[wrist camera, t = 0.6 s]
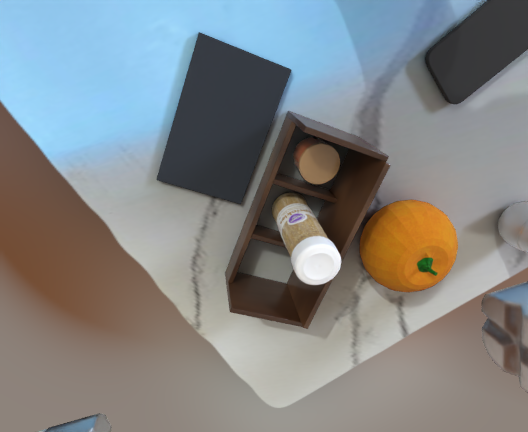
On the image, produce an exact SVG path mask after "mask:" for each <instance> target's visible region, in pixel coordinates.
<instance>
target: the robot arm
mask: <svg viewBox="0 0 528 432" xmlns="http://www.w3.org/2000/svg"><path fill="white" fill-rule="evenodd" d="M482 312H483V313H484V314H485V315H486V316H487V317H488V319H487V321H486V322H485V324H484V326H483V327H482V338H483V343H484V346H485V348H486V350H487V353H488V354H489V356H490V357H491V358H492V360H493V361H494V363H495V364H497V365H498V366H499V367H500V368H501V369H502V370H503V371H505V372H507V373H510V374H513V375H516V376H518V377H519V381H520V386H521V387H522V388H523V389H524V390H525V391H526V392H527V393H528V281H527V282H525V283H521V284H518V285H515V286H512V287H508V288H505V289H502V290H499V291H496V292H492V293H490V294H486V295H485V296H484V298H483V300H482ZM38 432H111V425H110V423H109V421H108V419H107V417H106V415H104V414H100V413H99V414H96V415H92V416H89V417H85V418H82V419H78V420H74V421H71V422H67V423H64V424H60V425H57V426H53V427H50V428H48V429H45V430H41V431H38Z"/></svg>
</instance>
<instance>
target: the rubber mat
mask: <svg viewBox="0 0 528 432" xmlns="http://www.w3.org/2000/svg"><path fill="white" fill-rule="evenodd" d="M290 73H291V69H288V68H286V67H283V66H281V65H279V64H276V63H274V62H271V61H269V60H266V59H264V58H261V57H259V56H256V55H254V54H251V53H249V52H246V51H244V50H242V49H239V48H237V47H234V46H232V45H229V44H227V43H224V42H222V41H219V40H217V39H214V38H212V37H210V36H207V35H205V34H202V33H200V32H199V34H198V38H197V41H196V45H195V48H194V52H193V55H192V58H191V62H190V65H189V69H188V72H187V76H186V79H185V83H184V86H183V90H182V93H181V97H180V100H179V104H178V107H177V110H176V114H175V117H174V121H173V124H172V128H171V131H170V135H169V138H168V142H167V145H166V149H165V152H164V156H163V159H162V162H161V166H160V169H159V173H158V176H157V180H159V181H162V182H165V183H169V184H172V185H176V186H179V187H183V188H186V189H190V190H193V191H197V192H200V193H204V194H207V195H211V196H214V197H218V198H221V199H224V200H228V201H231V202H235V203H238V204H241V202H242V199H243V197H244V194H245V192H246V189H247V186H248V184H249V181H250V178H251V176H252V173H253V170H254V168H255V165H256V163H257V160H258V157H259V155H260V152H261V149H262V147H263V144H264V141H265V139H266V136H267V133H268V131H269V128H270V126H271V123H272V120H273V118H274V115H275V112H276V110H277V107H278V104H279V102H280V99H281V96H282V94H283V91H284V89H285V86H286V83H287V81H288V78H289V75H290Z"/></svg>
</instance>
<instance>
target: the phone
mask: <svg viewBox="0 0 528 432" xmlns="http://www.w3.org/2000/svg"><path fill="white" fill-rule="evenodd" d="M527 49H528V0H488V1H487V2H486V3H484V4H483V5H482V6H481V7H480V8H478V9H477V10H476V11H475V12H474V13H472V14H471V15H470V16H469V17H468V18H466V19H465V20H464V21H463V22H462V23H460V24H459V25H458V26H457V27H456V28H454V29H453V30H452V31H451V32H450V33H448V34H447V35H446V36H445V37H444V38H442V39H441V40H440V41H439V42H438V43H436V44H435V45H434V46H433V47H432V48H431V49H430V50H429V51H428V52H427V54H426V58H425V60H426V64H427V66H428V68H429V70H430V72H431V74H432V76H433V78H434V79H435V81H436V83H437V85H438V87H439V88H440V90H441V92H442V94H443V96H444V97H445V99H446V101H447V102H449V103H452V104H459V103H461V102H462V101H463V100H465V99H466V98H467V97H468V96H470V95H471V94H472V93H473V92H475V91H476V90H477V89H478V88H480V87H481V86H482V85H483V84H485V83H486V82H487V81H488V80H490V79H491V78H492V77H493V76H495V75H496V74H497V73H498V72H500V71H501V70H502V69H503V68H505V67H506V66H507V65H508V64H510V63H511V62H512V61H513V60H515V59H516V58H517V57H518V56H520V55H521V54H522V53H523V52H525V51H526V50H527Z"/></svg>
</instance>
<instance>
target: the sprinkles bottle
mask: <svg viewBox="0 0 528 432" xmlns="http://www.w3.org/2000/svg"><path fill="white" fill-rule="evenodd" d="M272 215H273V218H274V220H275V221H276V223H277V227H278V229H279V232H280V234H281V237H282V239H283V241H284V244H285V246H286V249H287V251H288V252H289V255H290V257H291V264H292V267H293V269H294V271H295V273H296V275H297V277H298V278H299V279H300V280H301V281H302V282H304V283H306V284H309V285H320V284H324V283H326V282H328V281H330V280H331V279H333V278H334V277H335V276H336V274H337V273H338V272H339V269H340V267H341V256H340V254H339V252H338V250H337V248H336V247H335V245H334V244H333V242H332V241H330V240H329V239H328V237H327V236H326V234H325V232H324V231H323V229H322V227H321V226H320V224H319V223H318V220H317V218H316V217H315V215H314V214H313V212H312V211H311V209H310V208H309V207H308V205H307V202H306V200H305V199H304V198H303V197H302V196H301V195H299V194H297V193H293V192H291V193H285V194H282V195H280V196H279V197H278V198H277V199H276V200H275V201H274V203H273V206H272Z"/></svg>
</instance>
